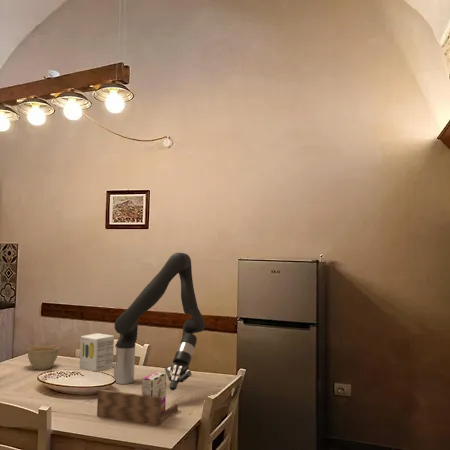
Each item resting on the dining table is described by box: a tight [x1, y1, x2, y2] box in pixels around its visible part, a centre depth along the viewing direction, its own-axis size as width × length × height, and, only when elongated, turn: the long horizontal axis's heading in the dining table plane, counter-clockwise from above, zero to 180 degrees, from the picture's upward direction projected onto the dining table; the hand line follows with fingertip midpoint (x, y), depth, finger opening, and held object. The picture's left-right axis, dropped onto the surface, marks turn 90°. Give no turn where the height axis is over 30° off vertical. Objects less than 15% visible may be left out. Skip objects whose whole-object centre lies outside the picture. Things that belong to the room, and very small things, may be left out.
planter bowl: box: [27, 344, 60, 371], centre depth 256 cm, size 16×16×11 cm
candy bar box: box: [141, 371, 167, 414], centre depth 186 cm, size 11×5×16 cm, turn 158°
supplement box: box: [79, 332, 115, 372], centre depth 259 cm, size 13×13×18 cm
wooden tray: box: [96, 389, 179, 426], centre depth 190 cm, size 27×18×10 cm, turn 72°
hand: (171, 389), depth 201 cm, fingers closed
